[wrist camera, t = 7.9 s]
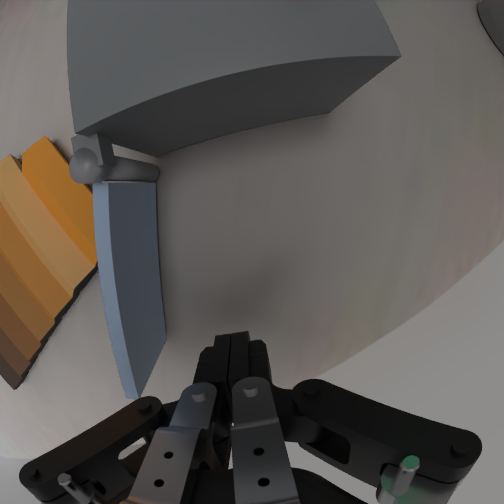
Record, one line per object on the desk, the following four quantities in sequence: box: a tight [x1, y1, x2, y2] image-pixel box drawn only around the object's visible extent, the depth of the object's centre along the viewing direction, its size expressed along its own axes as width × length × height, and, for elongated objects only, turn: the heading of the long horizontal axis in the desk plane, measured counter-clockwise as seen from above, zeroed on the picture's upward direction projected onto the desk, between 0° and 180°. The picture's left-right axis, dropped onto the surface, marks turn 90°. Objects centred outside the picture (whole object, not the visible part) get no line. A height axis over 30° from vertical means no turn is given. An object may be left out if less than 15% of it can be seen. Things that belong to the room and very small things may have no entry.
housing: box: [67, 0, 401, 184], centre depth 11 cm, size 13×10×11 cm
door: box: [93, 156, 167, 399], centre depth 15 cm, size 12×2×7 cm, turn 179°
